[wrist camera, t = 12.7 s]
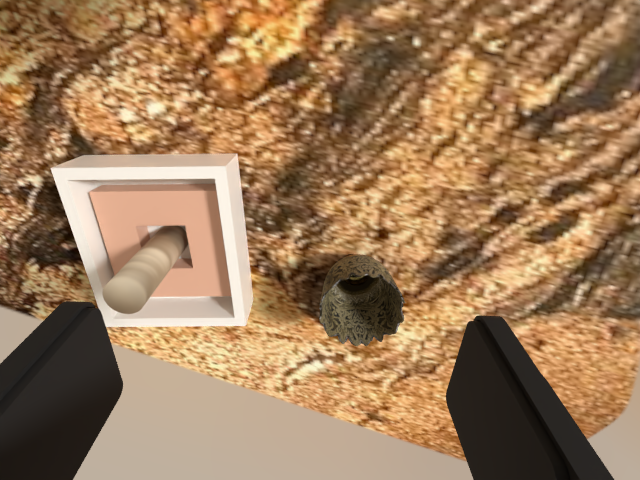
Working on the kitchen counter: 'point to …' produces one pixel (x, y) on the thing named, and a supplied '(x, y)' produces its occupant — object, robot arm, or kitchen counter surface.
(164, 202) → the bored plate
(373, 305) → the cup
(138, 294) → the birch peg
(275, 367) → the kitchen counter surface
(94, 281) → the open-top box
